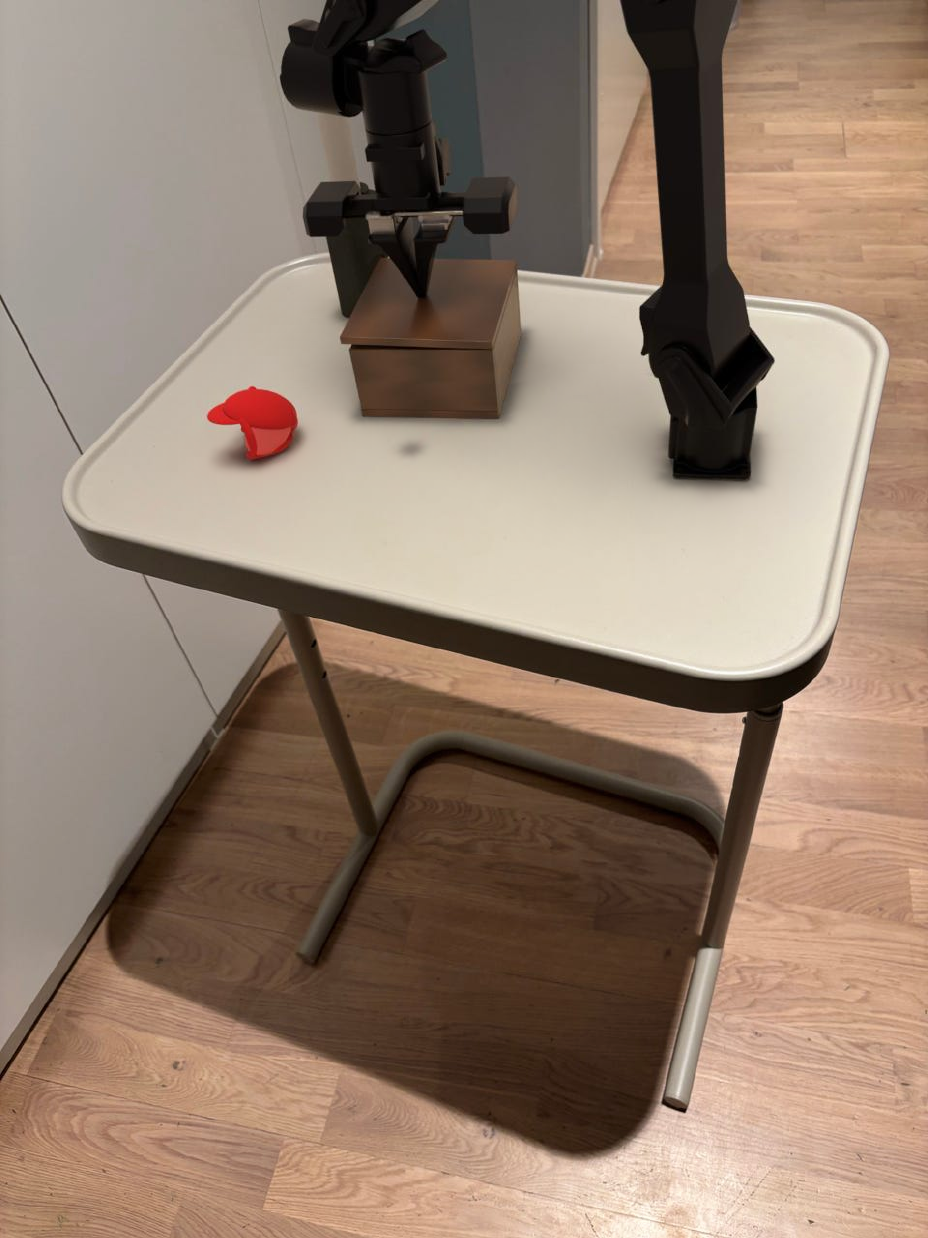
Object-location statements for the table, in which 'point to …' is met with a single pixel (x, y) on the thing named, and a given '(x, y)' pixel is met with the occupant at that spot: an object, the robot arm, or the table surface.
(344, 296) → the candle
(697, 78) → the robot arm
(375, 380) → the chest
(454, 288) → the lid
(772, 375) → the table surface
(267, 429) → the cap
